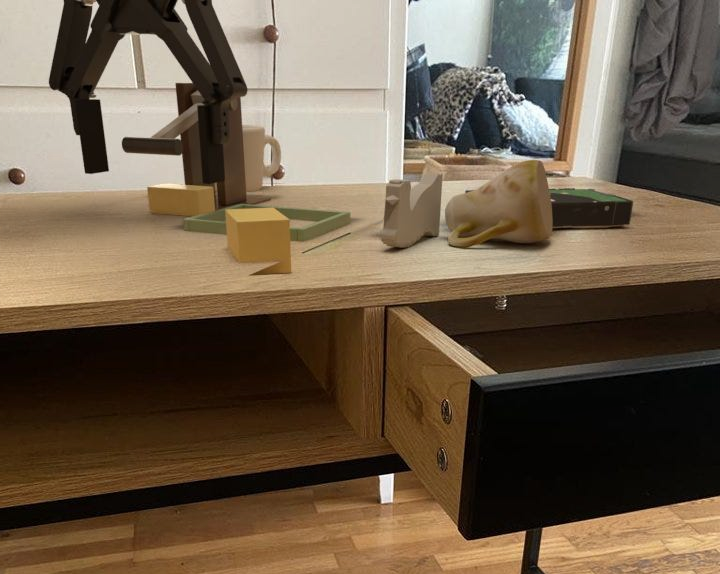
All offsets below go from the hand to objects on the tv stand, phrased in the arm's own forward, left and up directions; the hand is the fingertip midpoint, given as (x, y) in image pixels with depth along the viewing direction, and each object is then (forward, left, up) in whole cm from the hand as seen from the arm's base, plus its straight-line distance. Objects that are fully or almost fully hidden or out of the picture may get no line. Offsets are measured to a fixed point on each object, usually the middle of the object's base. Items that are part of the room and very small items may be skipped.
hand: (153, 177), depth 74 cm
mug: (+32, +7, -5) cm, 34 cm away
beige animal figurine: (+25, +3, -5) cm, 26 cm away
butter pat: (+17, -11, -5) cm, 21 cm away
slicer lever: (0, +6, +3) cm, 7 cm away
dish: (+12, 0, -5) cm, 13 cm away
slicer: (0, +10, -5) cm, 11 cm away
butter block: (0, +4, -5) cm, 6 cm away
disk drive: (+34, +20, -5) cm, 40 cm away
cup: (-4, +23, -5) cm, 24 cm away
